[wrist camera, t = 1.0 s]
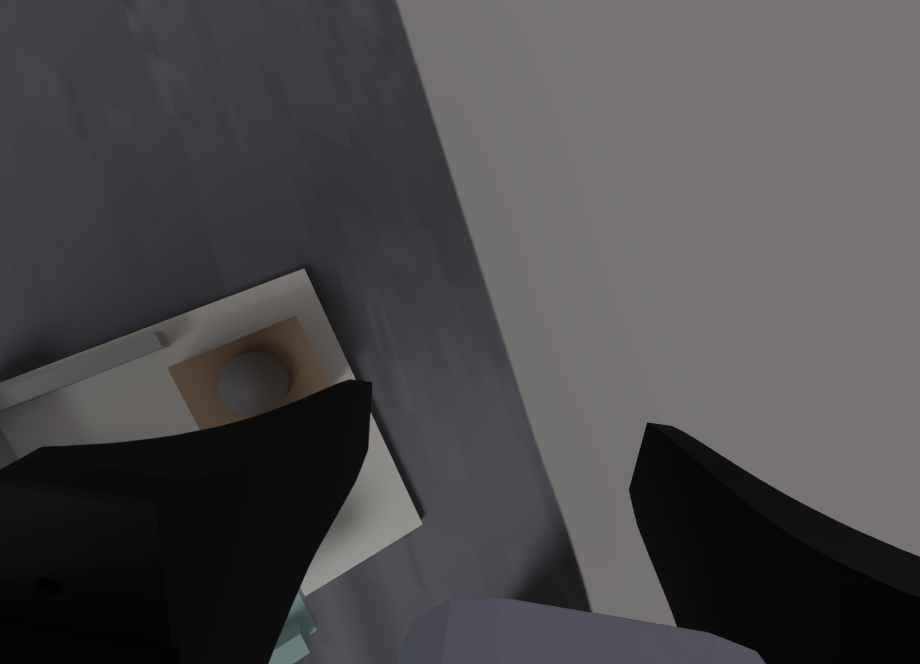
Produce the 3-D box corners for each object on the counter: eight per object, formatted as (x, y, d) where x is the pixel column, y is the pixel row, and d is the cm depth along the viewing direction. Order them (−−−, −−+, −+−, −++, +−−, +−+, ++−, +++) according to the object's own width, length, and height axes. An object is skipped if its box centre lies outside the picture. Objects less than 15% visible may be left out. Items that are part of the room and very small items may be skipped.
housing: (137, 693, 23) (109, 757, 19) (-42, 399, 20) (-110, 413, 17) (420, 521, 28) (438, 547, 24) (304, 269, 25) (305, 259, 22)
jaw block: (220, 442, 23) (210, 457, 21) (179, 363, 23) (163, 368, 20) (330, 390, 25) (334, 397, 22) (295, 316, 25) (295, 315, 22)
